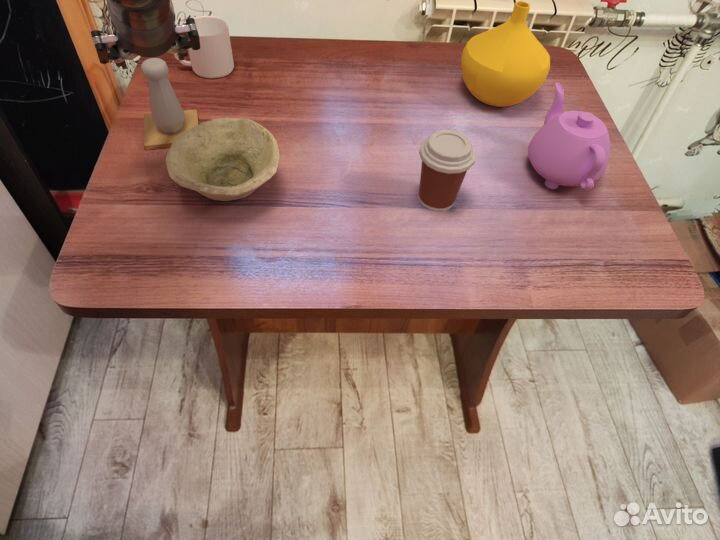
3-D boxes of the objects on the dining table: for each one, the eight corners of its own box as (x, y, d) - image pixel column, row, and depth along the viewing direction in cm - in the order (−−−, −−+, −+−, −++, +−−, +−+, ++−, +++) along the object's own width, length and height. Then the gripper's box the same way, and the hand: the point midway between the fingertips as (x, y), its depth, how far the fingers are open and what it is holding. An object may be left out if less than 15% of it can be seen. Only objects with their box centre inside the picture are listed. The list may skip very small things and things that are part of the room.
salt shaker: (183, 137, 91) (165, 72, 81) (152, 135, 91) (130, 69, 81) (190, 118, 95) (174, 54, 84) (160, 117, 94) (140, 52, 84)
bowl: (277, 198, 90) (282, 204, 76) (175, 198, 86) (160, 205, 72) (275, 120, 87) (280, 111, 73) (169, 117, 83) (152, 107, 69)
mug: (236, 58, 111) (230, 16, 104) (231, 79, 106) (224, 37, 98) (183, 56, 110) (173, 14, 103) (175, 77, 105) (163, 34, 98)
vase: (443, 74, 112) (462, -15, 97) (517, 70, 115) (546, -17, 100) (469, 121, 101) (495, 29, 86) (550, 115, 104) (588, 25, 89)
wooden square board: (145, 150, 90) (143, 145, 89) (145, 118, 95) (143, 114, 95) (201, 144, 92) (200, 139, 91) (197, 113, 97) (196, 109, 97)
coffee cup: (468, 191, 88) (486, 136, 78) (452, 223, 82) (468, 168, 73) (422, 175, 90) (433, 119, 80) (402, 205, 85) (412, 149, 75)
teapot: (503, 139, 98) (523, 82, 88) (567, 134, 100) (593, 78, 91) (545, 209, 86) (574, 152, 76) (616, 201, 88) (653, 145, 79)
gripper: (191, -22, 63) (190, 27, 78) (70, -10, 58) (94, 40, 73) (208, 38, 64) (204, 75, 79) (91, 54, 59) (111, 90, 75)
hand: (151, 58), depth 76 cm, fingers open, 8 cm apart
